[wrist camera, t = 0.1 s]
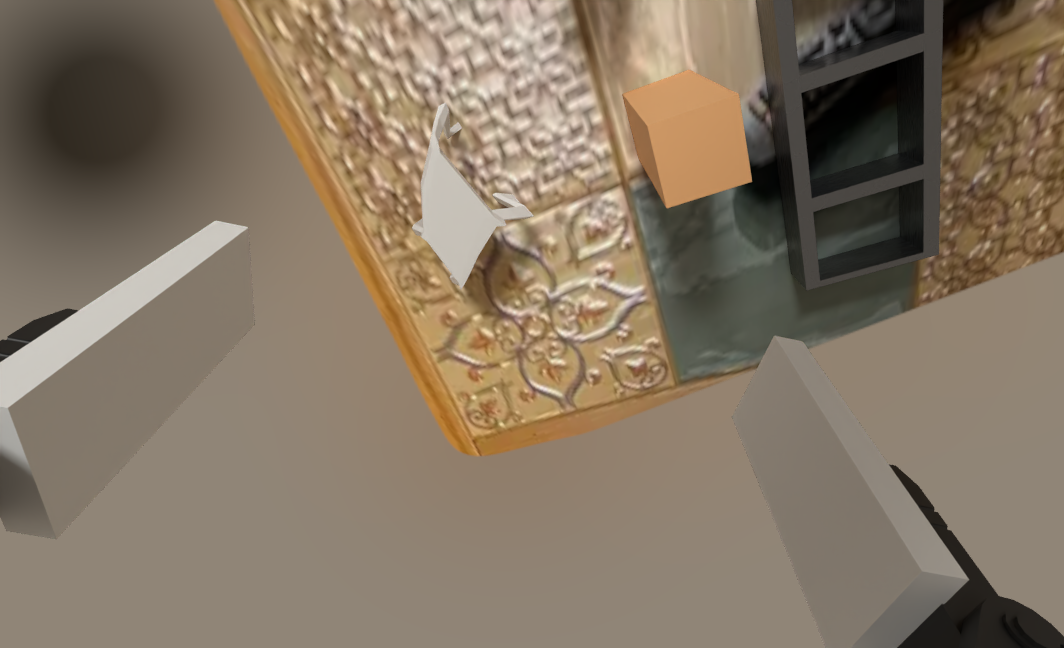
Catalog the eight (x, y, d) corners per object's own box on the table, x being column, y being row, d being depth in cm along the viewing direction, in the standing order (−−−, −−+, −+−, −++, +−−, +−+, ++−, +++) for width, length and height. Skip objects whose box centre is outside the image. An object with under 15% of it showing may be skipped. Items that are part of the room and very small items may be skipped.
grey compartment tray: (752, -26, 33) (769, -29, 31) (912, -88, 32) (944, -96, 29) (791, 273, 43) (806, 290, 41) (914, 238, 41) (938, 254, 39)
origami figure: (548, 239, 43) (548, 265, 38) (450, 274, 44) (440, 303, 40) (485, 82, 37) (477, 92, 33) (376, 128, 39) (355, 144, 34)
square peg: (638, 158, 39) (666, 208, 30) (622, 94, 37) (647, 125, 28) (701, 137, 38) (752, 181, 29) (689, 69, 36) (738, 94, 27)
